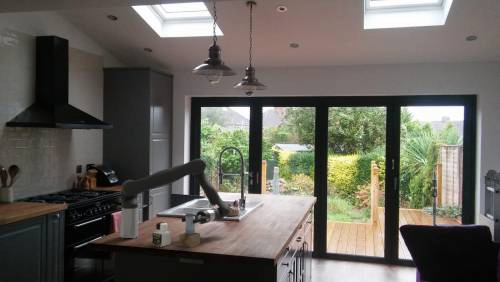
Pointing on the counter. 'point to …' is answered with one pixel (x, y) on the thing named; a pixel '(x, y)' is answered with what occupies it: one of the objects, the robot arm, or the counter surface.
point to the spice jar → (190, 224)
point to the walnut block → (189, 240)
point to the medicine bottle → (161, 235)
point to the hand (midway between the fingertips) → (187, 220)
